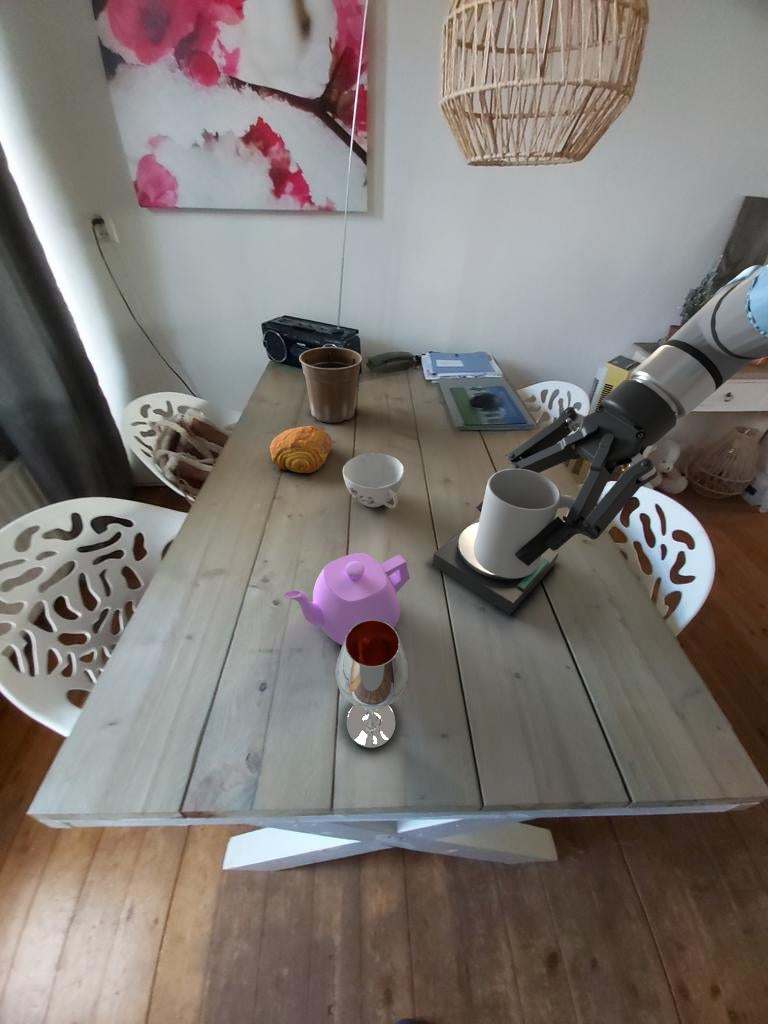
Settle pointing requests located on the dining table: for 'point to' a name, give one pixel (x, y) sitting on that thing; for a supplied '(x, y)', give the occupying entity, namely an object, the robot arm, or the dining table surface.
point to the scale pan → (467, 551)
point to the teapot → (354, 594)
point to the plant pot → (331, 382)
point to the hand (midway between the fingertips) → (500, 535)
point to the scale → (490, 589)
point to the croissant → (301, 449)
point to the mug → (515, 519)
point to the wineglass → (371, 680)
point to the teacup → (374, 479)
